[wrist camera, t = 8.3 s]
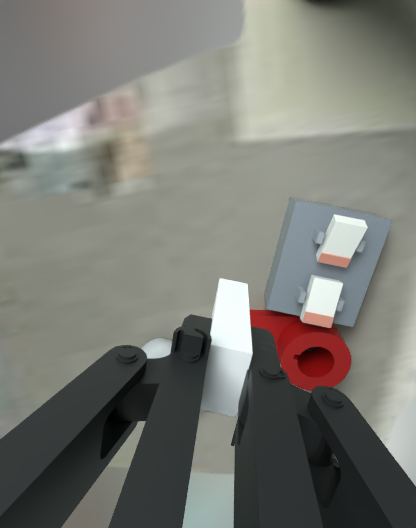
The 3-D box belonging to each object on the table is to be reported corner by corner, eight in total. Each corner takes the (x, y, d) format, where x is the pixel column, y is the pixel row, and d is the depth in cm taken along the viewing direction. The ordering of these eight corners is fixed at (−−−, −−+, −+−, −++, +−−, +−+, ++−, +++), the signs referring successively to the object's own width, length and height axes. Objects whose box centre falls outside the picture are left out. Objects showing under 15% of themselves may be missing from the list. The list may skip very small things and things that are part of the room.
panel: (289, 197, 45) (299, 203, 38) (378, 214, 44) (403, 224, 38) (264, 295, 49) (268, 316, 43) (344, 311, 49) (361, 335, 42)
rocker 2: (311, 274, 42) (314, 277, 40) (338, 280, 42) (343, 283, 40) (299, 317, 43) (302, 322, 41) (326, 323, 43) (330, 328, 41)
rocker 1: (334, 214, 38) (336, 222, 36) (364, 220, 38) (368, 228, 36) (316, 254, 42) (317, 262, 40) (343, 259, 42) (346, 268, 40)
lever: (346, 319, 50) (361, 342, 43) (324, 369, 53) (336, 397, 46) (232, 290, 50) (231, 308, 44) (217, 341, 53) (214, 365, 47)
